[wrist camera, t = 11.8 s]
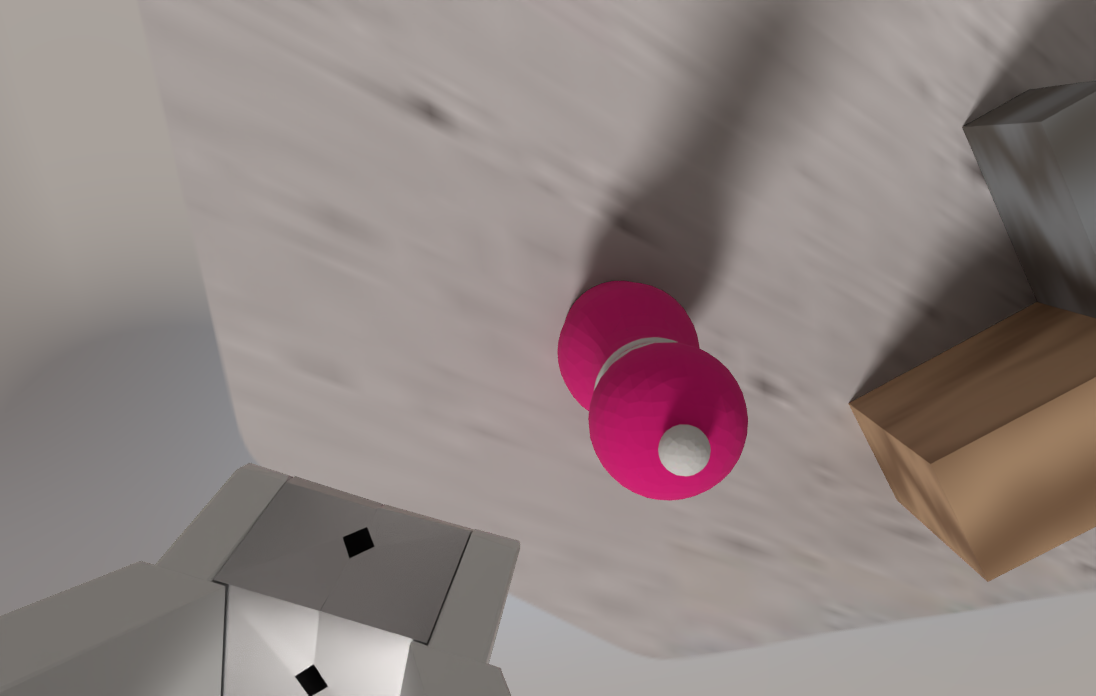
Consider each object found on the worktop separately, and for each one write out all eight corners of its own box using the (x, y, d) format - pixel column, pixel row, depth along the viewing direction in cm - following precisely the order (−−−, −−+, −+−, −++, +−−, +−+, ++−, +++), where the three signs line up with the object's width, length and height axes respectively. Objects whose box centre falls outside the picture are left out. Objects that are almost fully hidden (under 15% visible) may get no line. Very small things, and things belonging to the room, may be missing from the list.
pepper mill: (675, 263, 47) (791, 340, 27) (686, 388, 48) (802, 544, 29) (546, 279, 47) (569, 368, 27) (561, 403, 48) (593, 571, 29)
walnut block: (847, 403, 49) (930, 464, 39) (1036, 301, 48) (1168, 338, 38) (896, 499, 50) (987, 581, 41) (1080, 403, 49) (1218, 463, 40)
